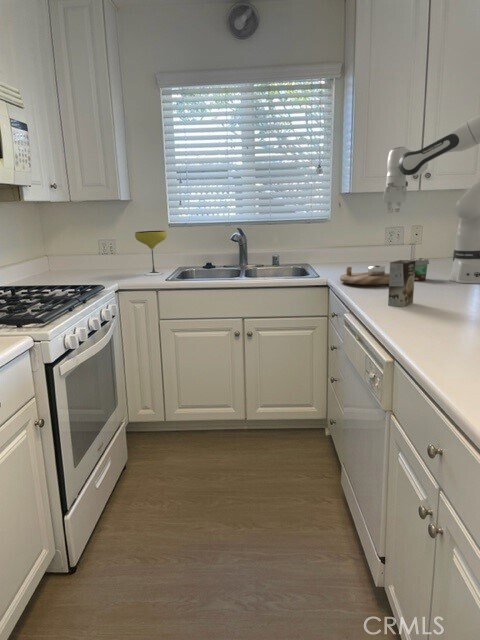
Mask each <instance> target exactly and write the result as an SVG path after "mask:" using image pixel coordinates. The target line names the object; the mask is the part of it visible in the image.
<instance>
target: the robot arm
mask: <svg viewBox="0 0 480 640" xmlns="http://www.w3.org/2000/svg"><path fill="white" fill-rule="evenodd" d="M479 144H480V114H479V115H477V116H474V117H473V118H471V119H469V120H467V121H465V122H463V123H462V124H460V125H459V126H457V127H456V128H454V129H453V130H451V131H450V132H449V133H447V134H446V135H445V136H443V137H442V138H440V139H438V140H436V141H434V142H432V143H431V144H429V145H427V146H425V147H422V148H421V149H419V150H414V151H412V150H410V149H408V148H407V147H405V146H399V147H395V148H392V149H390V151H389V152H388V157H387V163H386V170H387V174H386V181H385V187H384V190H383V199H382V200H383V204H386V206H387V213H394V212H396V213H400V212H401V206H402V203H405V202H406V199H407V194H408V193H407V192H408V191H407V190H408V187H409V181H407V179H406V176H418V175H421V174H423V173H424V172H426V170H427V169H428V166H429V162H430V161H432V160H434V159H436V158H438V157H440V156H442V155H444V154H447V153H452V152H453V153H454V152H463V151H466V150H468V149H471V148H473V147H476V146H477V145H479ZM393 204H396V207H395V210H394V212H393ZM454 211H455V214H456V216H457V217H458V218H459V221H458V225H457V229H456V233H455V243H454V250H453V254H452V255H453V256H452V261H453V264H452V269H451V273H450V276H449V278H448V280H449V281H452V282H456V283H460V284H480V178H479V179H478V180H477V181H476V182H475V183H474V184H473V185H472V186H471V187H470V188H469V189H468V190H467V191H466V192H465V193H464V194H462V196H461V197H460V198H459V199H458V200H457V201H456V203H455V206H454Z"/></svg>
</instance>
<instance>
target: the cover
mask: <svg viewBox="0 0 480 640" xmlns="http://www.w3.org/2000/svg"><path fill="white" fill-rule="evenodd" d="M367 272H368V275H370V276H383V275H385V273H386V266H385V265H380V264H379V265H378V264H377V265H368V266H367Z"/></svg>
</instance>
